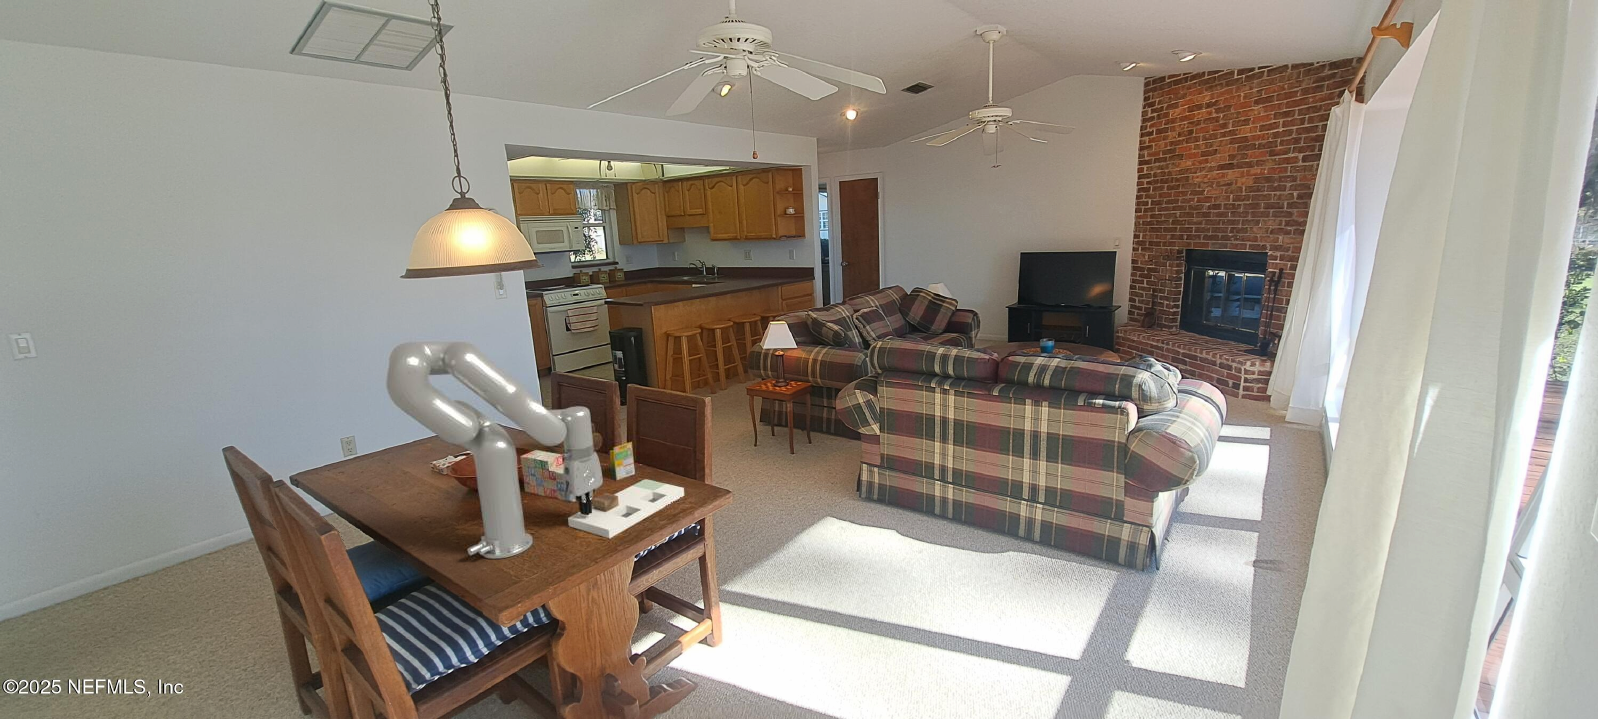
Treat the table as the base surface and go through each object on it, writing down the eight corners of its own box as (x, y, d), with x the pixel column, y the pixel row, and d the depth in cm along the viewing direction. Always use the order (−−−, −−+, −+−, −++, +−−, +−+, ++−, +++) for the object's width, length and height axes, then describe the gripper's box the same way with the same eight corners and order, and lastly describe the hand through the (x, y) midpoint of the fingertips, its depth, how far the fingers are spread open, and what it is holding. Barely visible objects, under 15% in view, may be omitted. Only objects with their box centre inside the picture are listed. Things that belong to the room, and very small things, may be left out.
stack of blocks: (587, 495, 198) (584, 458, 195) (572, 502, 192) (568, 465, 190) (540, 484, 207) (535, 449, 205) (524, 491, 202) (519, 455, 199)
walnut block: (605, 512, 179) (604, 502, 178) (593, 508, 182) (592, 499, 181) (618, 505, 183) (617, 495, 183) (606, 502, 186) (605, 492, 185)
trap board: (609, 538, 169) (608, 529, 168) (568, 525, 177) (567, 517, 176) (684, 495, 195) (683, 487, 195) (646, 486, 203) (645, 478, 202)
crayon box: (630, 471, 215) (627, 439, 213) (635, 474, 214) (632, 441, 211) (611, 478, 210) (608, 445, 208) (616, 480, 208) (613, 447, 206)
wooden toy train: (565, 465, 224) (560, 420, 220) (543, 460, 229) (538, 416, 226) (606, 447, 241) (602, 406, 237) (585, 443, 246) (581, 402, 243)
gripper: (566, 462, 164) (574, 527, 168) (609, 445, 177) (615, 505, 180) (547, 458, 168) (555, 521, 171) (591, 441, 180) (597, 500, 184)
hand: (586, 513), depth 176 cm, fingers closed
